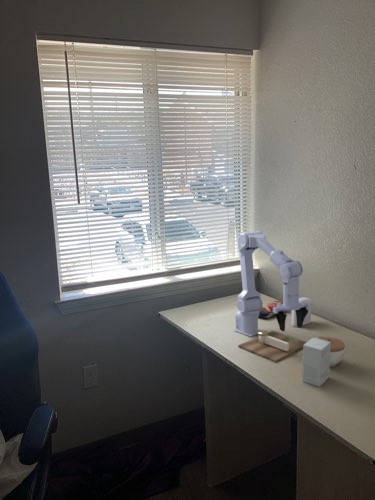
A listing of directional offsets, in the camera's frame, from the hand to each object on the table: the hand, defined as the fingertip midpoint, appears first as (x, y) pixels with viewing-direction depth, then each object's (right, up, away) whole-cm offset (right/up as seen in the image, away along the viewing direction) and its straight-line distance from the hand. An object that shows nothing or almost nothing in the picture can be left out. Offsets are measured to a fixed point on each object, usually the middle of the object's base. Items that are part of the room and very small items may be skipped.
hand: (290, 328), depth 153 cm
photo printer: (+13, -4, +32) cm, 35 cm away
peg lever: (-5, -8, +7) cm, 12 cm away
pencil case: (+2, -2, +46) cm, 46 cm away
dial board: (-4, -9, +10) cm, 14 cm away
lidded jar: (+12, -12, -5) cm, 17 cm away
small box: (+4, -14, -16) cm, 22 cm away
